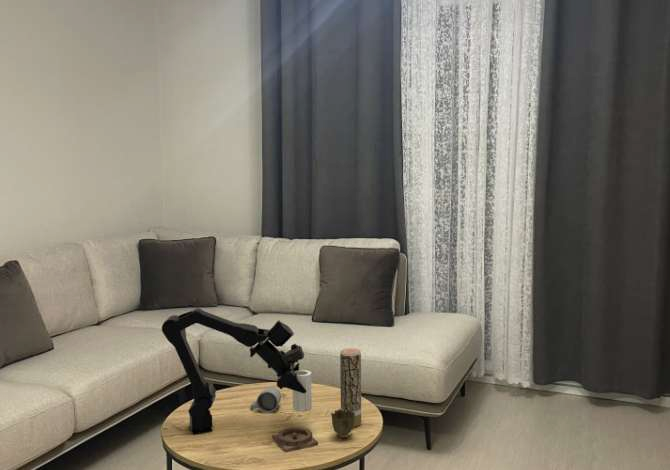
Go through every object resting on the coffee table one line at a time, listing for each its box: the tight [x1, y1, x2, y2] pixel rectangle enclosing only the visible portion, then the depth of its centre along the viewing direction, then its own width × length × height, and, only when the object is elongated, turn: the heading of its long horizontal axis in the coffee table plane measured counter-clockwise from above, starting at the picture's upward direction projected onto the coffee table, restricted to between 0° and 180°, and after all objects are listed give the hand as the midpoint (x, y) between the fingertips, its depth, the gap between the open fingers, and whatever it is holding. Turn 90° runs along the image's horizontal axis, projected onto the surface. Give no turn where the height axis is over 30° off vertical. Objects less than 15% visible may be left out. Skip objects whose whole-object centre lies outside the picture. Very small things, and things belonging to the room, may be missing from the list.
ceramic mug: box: [250, 386, 282, 414], centre depth 240 cm, size 11×8×8 cm
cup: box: [330, 408, 355, 440], centre depth 215 cm, size 8×7×8 cm
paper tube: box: [339, 348, 362, 428], centre depth 224 cm, size 7×7×25 cm
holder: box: [271, 426, 319, 453], centre depth 212 cm, size 11×11×3 cm
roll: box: [292, 369, 313, 413], centre depth 221 cm, size 6×6×12 cm
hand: (306, 389), depth 221 cm, fingers closed on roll, 6 cm apart
